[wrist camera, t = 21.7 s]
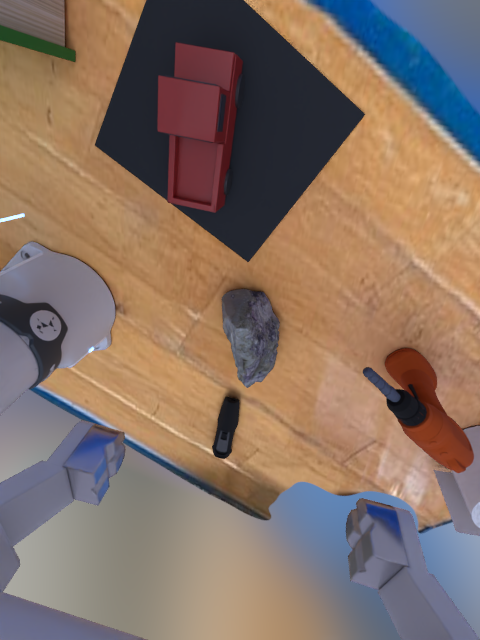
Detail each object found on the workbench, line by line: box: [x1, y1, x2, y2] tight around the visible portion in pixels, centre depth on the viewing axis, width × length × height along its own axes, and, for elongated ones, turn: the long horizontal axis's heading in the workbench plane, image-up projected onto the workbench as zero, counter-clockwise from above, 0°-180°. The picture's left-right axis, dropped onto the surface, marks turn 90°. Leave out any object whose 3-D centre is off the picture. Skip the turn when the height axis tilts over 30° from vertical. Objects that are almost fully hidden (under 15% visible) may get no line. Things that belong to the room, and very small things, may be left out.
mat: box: [95, 0, 365, 262], centre depth 33 cm, size 19×22×1 cm
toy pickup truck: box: [158, 42, 245, 213], centre depth 30 cm, size 13×6×8 cm, turn 171°
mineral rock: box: [222, 289, 280, 388], centre depth 41 cm, size 13×11×10 cm
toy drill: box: [363, 348, 474, 473], centre depth 36 cm, size 5×19×15 cm, turn 47°
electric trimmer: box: [212, 397, 240, 459], centre depth 55 cm, size 4×16×3 cm, turn 171°
